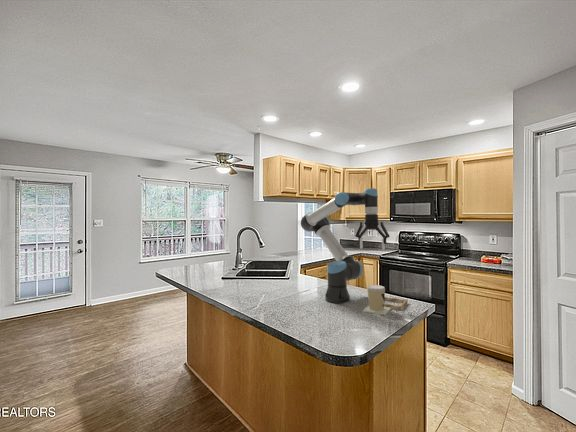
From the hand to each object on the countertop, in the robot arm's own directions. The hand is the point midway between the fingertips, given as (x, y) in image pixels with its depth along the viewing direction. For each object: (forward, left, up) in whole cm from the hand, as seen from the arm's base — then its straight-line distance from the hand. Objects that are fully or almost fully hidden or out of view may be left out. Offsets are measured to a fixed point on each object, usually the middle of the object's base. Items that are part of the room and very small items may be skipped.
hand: (372, 249), depth 176 cm
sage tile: (+7, -16, -32) cm, 36 cm away
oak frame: (+11, -2, -32) cm, 34 cm away
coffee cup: (+7, -16, -31) cm, 35 cm away
